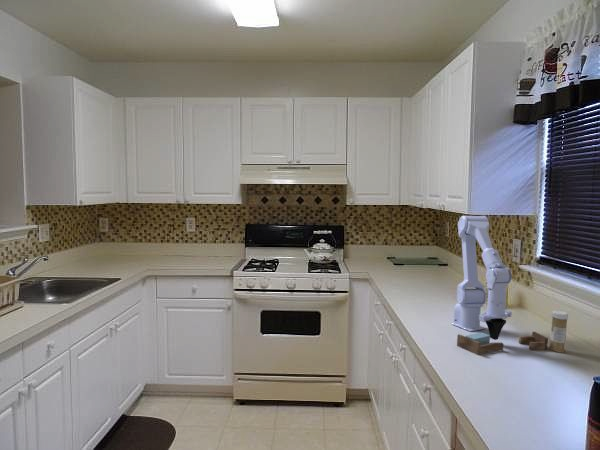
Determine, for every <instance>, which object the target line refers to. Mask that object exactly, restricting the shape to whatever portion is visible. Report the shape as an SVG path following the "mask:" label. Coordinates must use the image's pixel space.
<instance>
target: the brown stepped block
mask: <svg viewBox="0 0 600 450" xmlns="http://www.w3.org/2000/svg"><path fill="white" fill-rule="evenodd" d="M548 341H549V338H548V337H546V336H544V335H542V334H540V333H539V332H536V331H532V334H531V335H524V336H523V335H519V336H518V344H520V345H528V349H529V350H530V351H543V350H545V351H546V350H548V343H549V342H548Z"/></svg>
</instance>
